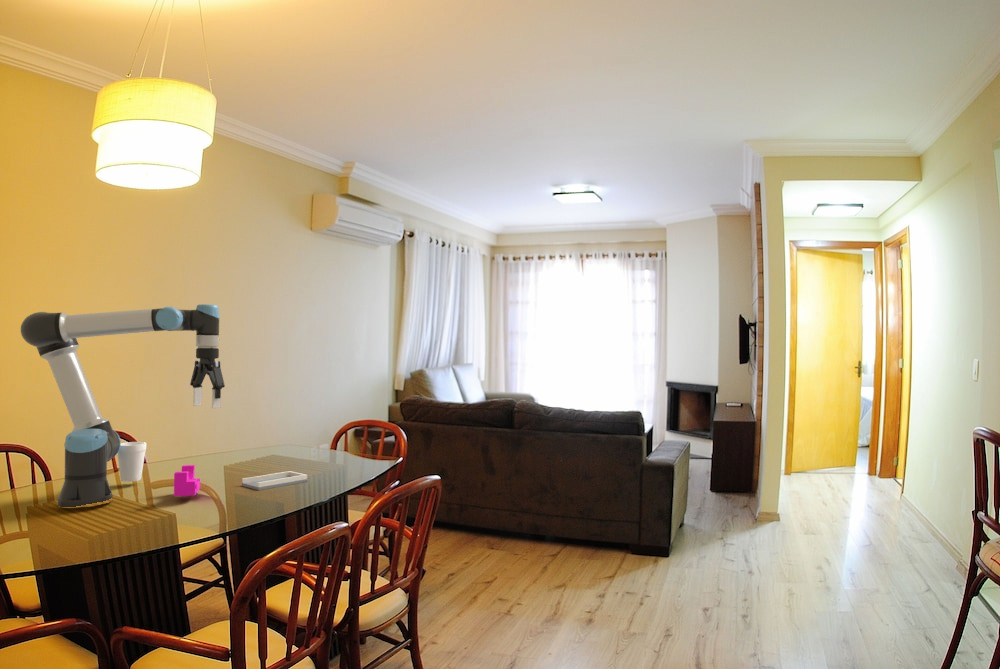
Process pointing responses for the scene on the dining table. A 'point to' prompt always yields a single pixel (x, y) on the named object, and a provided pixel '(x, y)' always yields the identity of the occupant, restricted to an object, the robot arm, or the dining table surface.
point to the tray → (274, 480)
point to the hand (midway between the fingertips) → (206, 406)
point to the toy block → (186, 482)
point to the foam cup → (131, 460)
